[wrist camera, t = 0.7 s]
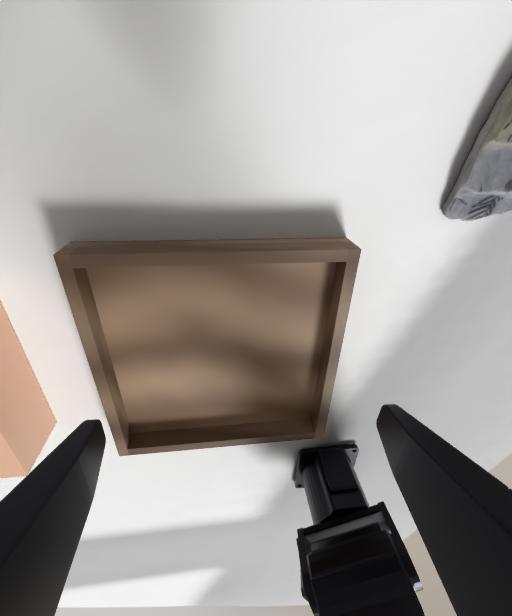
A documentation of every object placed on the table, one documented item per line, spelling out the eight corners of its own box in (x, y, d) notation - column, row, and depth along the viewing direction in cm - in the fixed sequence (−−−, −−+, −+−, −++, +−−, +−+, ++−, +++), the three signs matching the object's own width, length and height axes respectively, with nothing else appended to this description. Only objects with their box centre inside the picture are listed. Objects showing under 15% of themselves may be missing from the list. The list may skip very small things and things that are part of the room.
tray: (315, 416, 30) (323, 437, 28) (126, 432, 28) (119, 456, 26) (346, 238, 21) (361, 249, 19) (70, 241, 19) (53, 255, 17)
